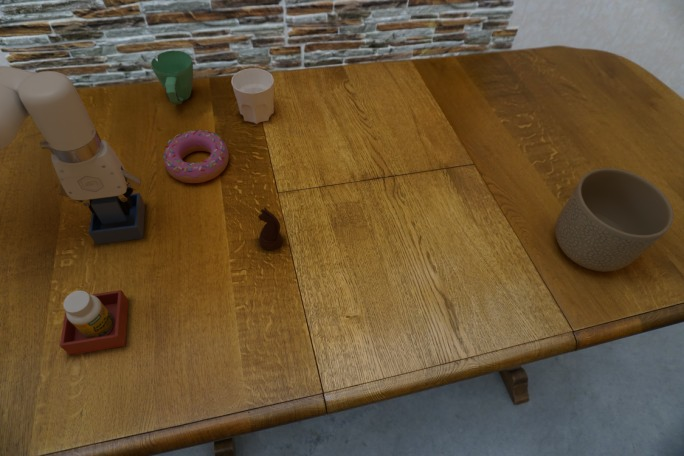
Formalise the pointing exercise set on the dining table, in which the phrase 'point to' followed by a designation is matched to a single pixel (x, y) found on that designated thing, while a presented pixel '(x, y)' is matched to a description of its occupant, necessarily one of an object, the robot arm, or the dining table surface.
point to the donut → (192, 143)
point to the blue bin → (120, 225)
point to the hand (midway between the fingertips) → (113, 210)
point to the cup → (254, 94)
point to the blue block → (108, 210)
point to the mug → (174, 74)
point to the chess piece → (270, 231)
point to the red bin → (79, 343)
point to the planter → (612, 219)
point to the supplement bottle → (88, 314)
